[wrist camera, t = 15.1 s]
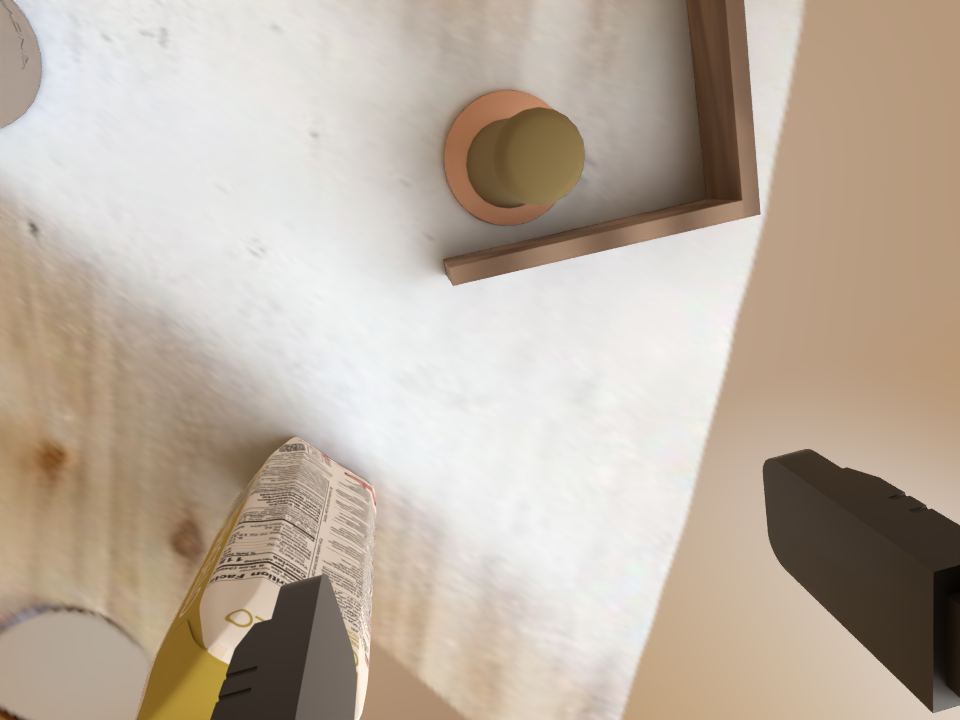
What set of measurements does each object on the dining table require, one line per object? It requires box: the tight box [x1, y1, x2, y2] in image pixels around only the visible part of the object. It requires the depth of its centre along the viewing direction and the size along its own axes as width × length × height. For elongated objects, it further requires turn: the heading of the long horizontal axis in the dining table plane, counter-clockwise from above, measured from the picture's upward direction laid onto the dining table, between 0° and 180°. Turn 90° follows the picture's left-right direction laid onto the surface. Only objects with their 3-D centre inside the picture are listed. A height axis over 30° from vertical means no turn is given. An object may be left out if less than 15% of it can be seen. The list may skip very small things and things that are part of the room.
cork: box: [466, 107, 585, 209], centre depth 38 cm, size 6×6×11 cm
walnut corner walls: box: [443, 0, 760, 286], centre depth 41 cm, size 22×18×5 cm
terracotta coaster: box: [444, 91, 556, 225], centre depth 44 cm, size 9×9×1 cm
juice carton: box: [135, 437, 376, 720], centre depth 37 cm, size 9×8×24 cm
